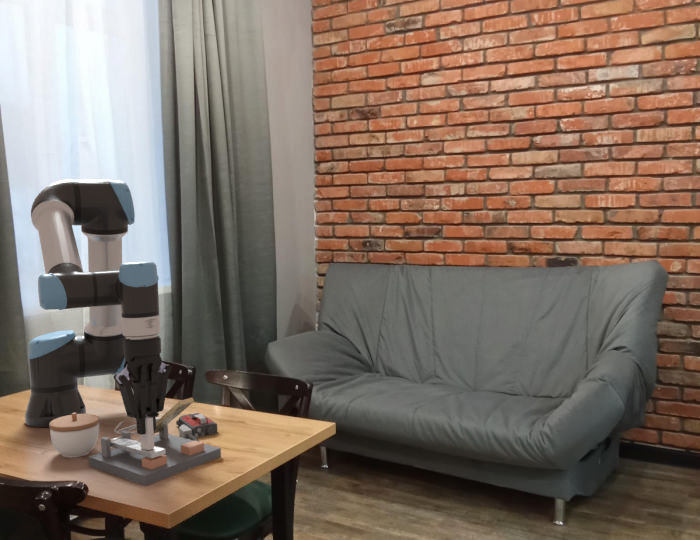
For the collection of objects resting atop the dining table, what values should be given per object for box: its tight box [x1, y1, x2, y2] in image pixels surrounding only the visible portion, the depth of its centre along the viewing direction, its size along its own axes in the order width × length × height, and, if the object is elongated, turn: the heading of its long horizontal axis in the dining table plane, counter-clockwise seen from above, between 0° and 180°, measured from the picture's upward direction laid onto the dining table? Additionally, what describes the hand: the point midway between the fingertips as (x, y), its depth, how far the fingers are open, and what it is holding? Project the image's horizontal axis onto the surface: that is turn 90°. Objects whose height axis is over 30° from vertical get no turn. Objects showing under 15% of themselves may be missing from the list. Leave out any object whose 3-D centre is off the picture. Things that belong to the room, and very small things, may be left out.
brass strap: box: [154, 397, 195, 435], centre depth 155 cm, size 16×4×2 cm
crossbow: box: [113, 417, 161, 435], centre depth 178 cm, size 16×13×2 cm
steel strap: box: [110, 435, 166, 459], centre depth 147 cm, size 16×4×2 cm, turn 53°
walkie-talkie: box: [175, 412, 218, 442], centre depth 170 cm, size 9×4×20 cm
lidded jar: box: [48, 413, 100, 459], centre depth 158 cm, size 11×11×9 cm
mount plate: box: [88, 424, 222, 487], centre depth 151 cm, size 20×20×6 cm
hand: (147, 447), depth 144 cm, fingers closed
